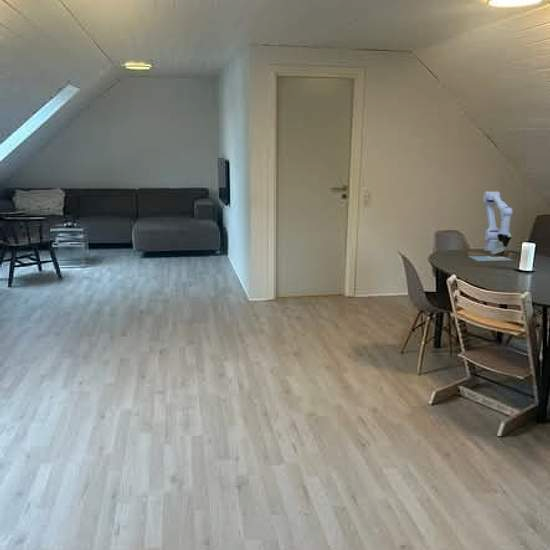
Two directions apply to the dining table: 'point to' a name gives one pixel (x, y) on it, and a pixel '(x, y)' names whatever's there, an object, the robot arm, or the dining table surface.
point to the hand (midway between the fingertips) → (503, 245)
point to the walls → (486, 253)
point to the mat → (489, 258)
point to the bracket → (498, 248)
